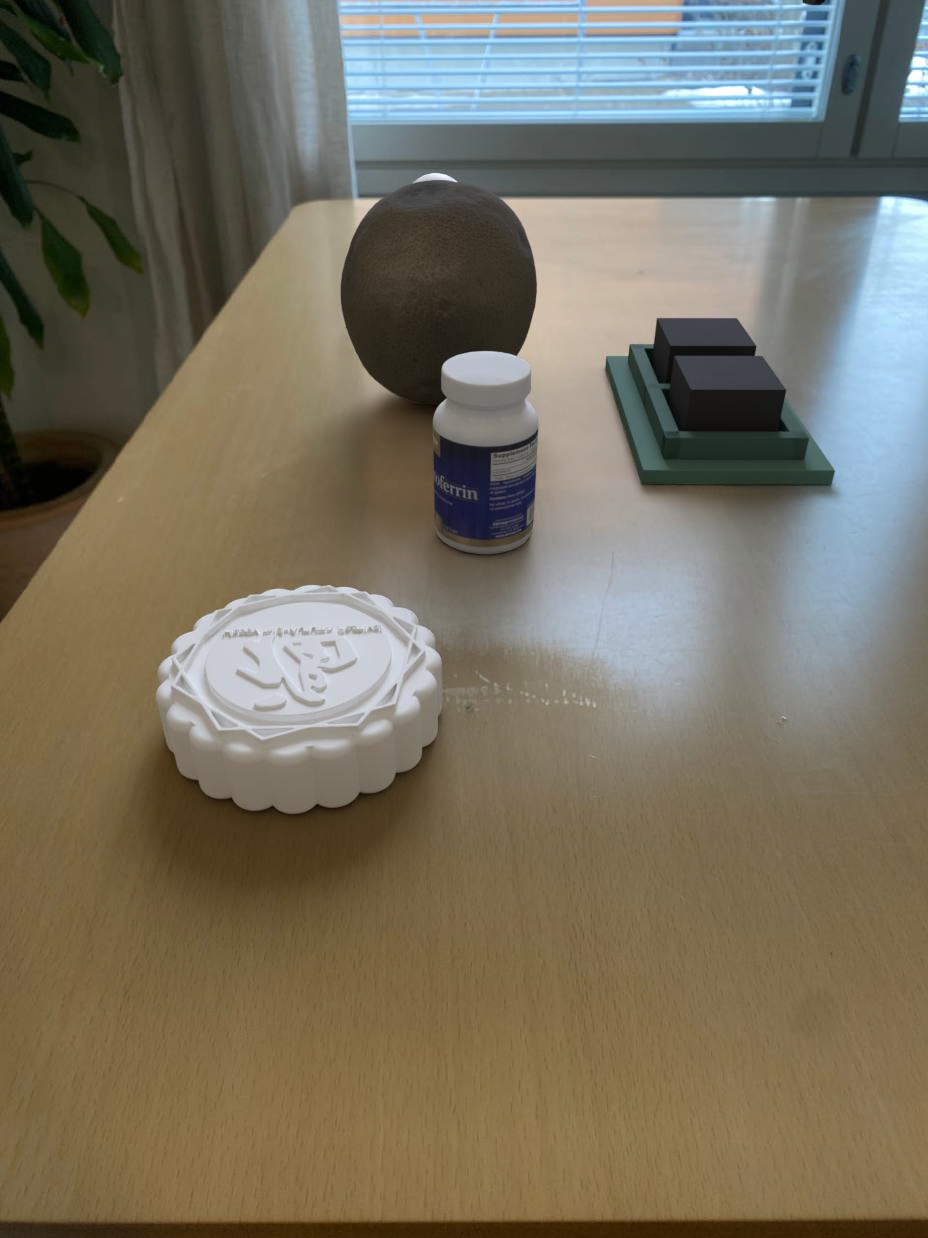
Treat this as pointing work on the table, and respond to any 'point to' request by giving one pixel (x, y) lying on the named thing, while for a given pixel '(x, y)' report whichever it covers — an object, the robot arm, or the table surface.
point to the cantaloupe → (436, 284)
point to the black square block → (697, 341)
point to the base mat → (706, 437)
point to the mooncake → (300, 697)
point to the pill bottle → (485, 453)
